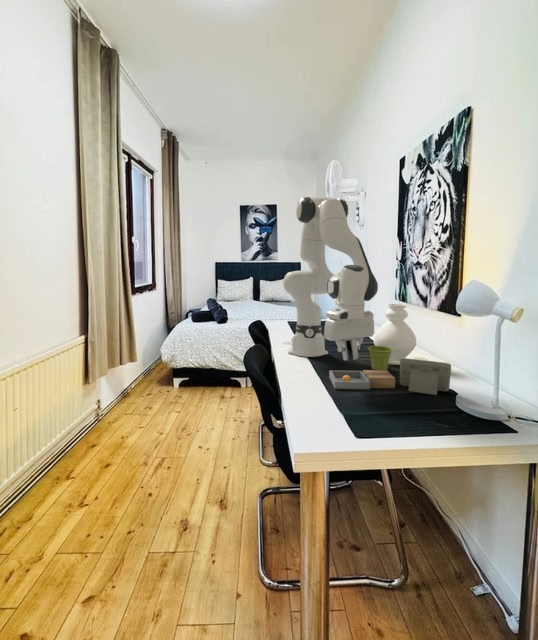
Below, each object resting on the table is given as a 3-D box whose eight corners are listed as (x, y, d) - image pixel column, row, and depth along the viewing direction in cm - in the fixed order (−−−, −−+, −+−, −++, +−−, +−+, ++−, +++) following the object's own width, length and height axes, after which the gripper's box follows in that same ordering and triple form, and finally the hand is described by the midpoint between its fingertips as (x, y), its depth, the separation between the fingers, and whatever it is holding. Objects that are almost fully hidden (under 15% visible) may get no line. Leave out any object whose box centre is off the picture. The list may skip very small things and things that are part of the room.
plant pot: (392, 373, 150) (393, 351, 149) (367, 371, 152) (368, 350, 151) (390, 367, 159) (391, 346, 158) (366, 365, 161) (367, 345, 160)
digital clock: (451, 391, 129) (454, 361, 128) (445, 398, 122) (447, 366, 121) (403, 382, 139) (405, 353, 137) (394, 388, 132) (396, 358, 130)
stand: (362, 379, 142) (362, 369, 141) (386, 379, 142) (387, 370, 141) (368, 387, 132) (369, 377, 131) (394, 388, 132) (395, 378, 131)
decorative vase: (376, 354, 181) (379, 302, 177) (416, 358, 173) (420, 304, 170) (369, 363, 165) (372, 305, 161) (413, 368, 158) (417, 308, 154)
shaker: (351, 356, 140) (348, 335, 139) (362, 357, 135) (359, 336, 134) (339, 359, 137) (336, 338, 136) (350, 360, 132) (347, 339, 131)
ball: (348, 380, 137) (342, 375, 137) (353, 377, 135) (347, 372, 135) (345, 386, 135) (339, 381, 135) (351, 383, 133) (344, 378, 133)
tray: (329, 376, 144) (329, 370, 144) (361, 377, 144) (361, 371, 144) (334, 388, 130) (334, 381, 130) (369, 389, 130) (370, 382, 130)
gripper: (367, 309, 141) (364, 345, 144) (322, 312, 131) (320, 351, 134) (379, 311, 136) (376, 349, 138) (333, 315, 126) (331, 355, 128)
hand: (348, 350), depth 136 cm, fingers closed on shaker, 6 cm apart
